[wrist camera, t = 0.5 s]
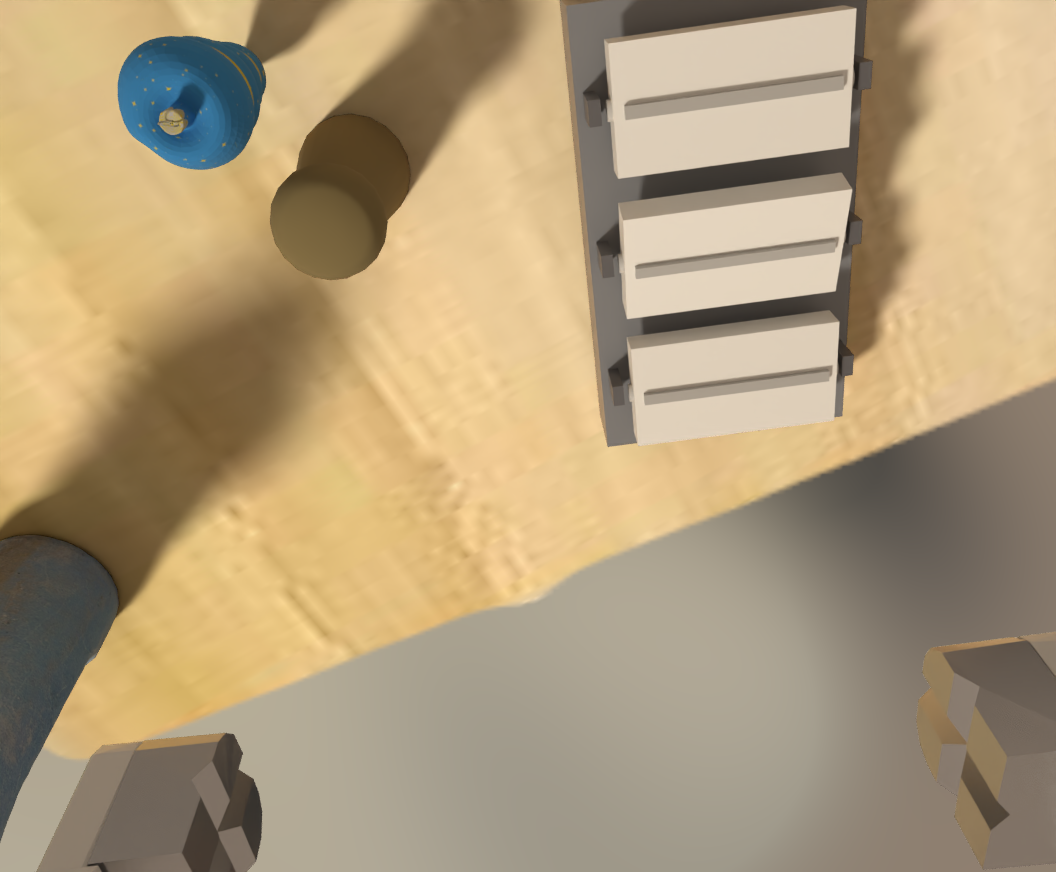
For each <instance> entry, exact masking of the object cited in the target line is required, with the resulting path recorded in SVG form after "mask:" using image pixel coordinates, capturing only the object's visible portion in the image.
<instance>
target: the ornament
mask: <svg viewBox="0 0 1056 872" xmlns="http://www.w3.org/2000/svg"><path fill="white" fill-rule="evenodd" d="M265 87H266V75H265V71H264V68H263V66H262V64H261V62H260V60H259V59H258V58H257V56H256V55H255V54H254V53H253V52H252V51H250V50H249V49H247V48H246V47H243V46H241V45H239V44H235V43H231V42H220V41H213V40H210V39H206V38H202V37H195V36H183V37H176V36H169V37H160V38H156V39H152V40H149V41H147V42H144V43H143V44H141V45H139V46H138V47H137V48H136V49H134V50H133V51H132V52H131V54H130V55H129V56H128V57H127V59H126V60H125V62H124V64H123V66H122V68H121V71H120V74H119V80H118V101H119V107H120V111H121V114H122V118H123V121H124V123H125V125H126V127H127V129H128V131H129V132H130V133H131V135H132V136H133V137H134V138H136V139H137V140H138V141H140V142H141V143H143V144H144V145H146V146H147V147H148V148H150V149H151V150H152V151H154V152H155V153H156V154H158V155H159V156H160V157H162V158H163V159H165V160H166V161H168V162H170V163H172V164H174V165H177V166H180V167H184V168H189V169H198V170H205V169H212V168H216V167H219V166H221V165H224V164H226V163H228V162H230V161H231V160H233V159H234V158H236V157H237V156H238V155H239V154H240V153H241V152H242V150H243V149H244V148H245V146H246V144H247V143H248V141H249V139H250V136H251V134H252V131H253V128H254V126H255V125H256V122H257V120H258V117H259V111H260V104H261V101H262V95H263V93H264V91H265Z"/></svg>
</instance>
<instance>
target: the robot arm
mask: <svg viewBox="0 0 1056 872" xmlns="http://www.w3.org/2000/svg"><path fill="white" fill-rule="evenodd" d="M922 673H923V675H924V677H925V679H926V680H927V682H928V684H929V685H930V687H931V688H930V689H929V690H928V691H927V692H926V693H925V694H924V695H923V696H922V697H921V698H920V699H919V700H918V709H917V719H916V722H917V729H918V735H919V742H920V746H921V749H922V751H923V755H924V757H925V760H926V763H927V765H928V767H929V769H930V771H931V773H932V775H933V777H934V779H935V781H936V782H937V783H938V784H940V785H941V786H943V787H944V788H945V789H947V790H948V791H950V792H951V793H953V794H954V795H956V796H957V803H956V808H955V815H954V817H955V819H956V821H957V823H958V825H959V826H960V828H961V830H962V832H963V834H964V836H965V838H966V840H967V841H968V843H969V845H970V847H971V849H972V851H973V853H974V854H975V856H976V858H977V860H978V862H979V864H980V866H981V867H982V869H983V870H984V869H996V868H1006V867H1018V866H1030V865H1042V864H1054V863H1056V632H1051V633H1043V634H1035V635H1027V636H1019V637H1017V638H1014V637H1010V638H1002V639H995V640H986V641H979V642H971V643H964V644H956V645H949V646H941V647H933V648H930V649H929V651H928V652H927V654H926V655H925V657H924V664H923V670H922ZM242 755H243V752H242V750H241V748H240V746H239V744H238V742H237V740H236V738H235V735H234V734H229V733H220V734H209V735H198V736H188V737H177V738H166V739H156V740H145V741H142V742H131V743H121V744H110V745H102V746H101V747H100V748H99V749H98V750H97V751H96V752H95V753H94V754H93V755H92V756H91V758H90V760H89V762H88V764H87V766H86V768H85V770H84V772H83V775H82V776H81V779H80V781H79V783H78V785H77V787H76V789H75V791H74V793H73V796H72V798H71V800H70V802H69V804H68V806H67V808H66V810H65V812H64V814H63V817H62V819H61V821H60V823H59V825H58V827H57V829H56V831H55V833H54V836H53V838H52V840H51V842H50V844H49V846H48V848H47V850H46V853H45V855H44V857H43V859H42V861H41V863H40V865H39V867H38V869H37V871H36V872H247V871H248V870H249V869H250V867H251V866H252V865H253V864H254V863H255V862H256V860H257V855H258V851H259V846H260V841H261V833H262V808H261V802H260V796H259V792H258V790H257V787H256V785H255V782H254V779H253V778H251V777H249V776H248V775H246V774H245V773H243V772H242V771H240V770H238V769H239V765H240V762H241V758H242Z"/></svg>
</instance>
